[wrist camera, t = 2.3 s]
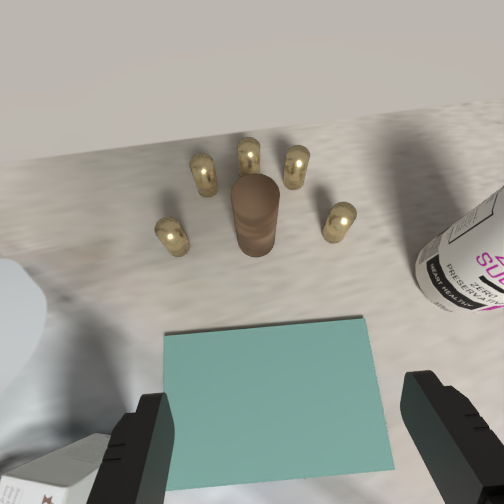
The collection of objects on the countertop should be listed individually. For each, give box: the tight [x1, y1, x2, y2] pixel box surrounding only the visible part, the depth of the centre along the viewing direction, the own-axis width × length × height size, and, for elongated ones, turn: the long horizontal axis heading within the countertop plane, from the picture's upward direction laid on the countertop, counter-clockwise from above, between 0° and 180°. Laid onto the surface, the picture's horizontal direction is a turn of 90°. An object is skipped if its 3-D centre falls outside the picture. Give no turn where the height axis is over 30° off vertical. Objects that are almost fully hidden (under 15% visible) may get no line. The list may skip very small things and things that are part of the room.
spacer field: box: [155, 137, 357, 257], centre depth 36 cm, size 19×11×5 cm, turn 95°
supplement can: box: [415, 186, 504, 315], centre depth 28 cm, size 8×8×15 cm
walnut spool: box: [231, 173, 280, 257], centre depth 32 cm, size 4×4×10 cm
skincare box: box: [0, 433, 111, 504], centre depth 24 cm, size 6×4×12 cm
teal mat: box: [164, 318, 395, 491], centre depth 31 cm, size 20×13×1 cm, turn 95°
